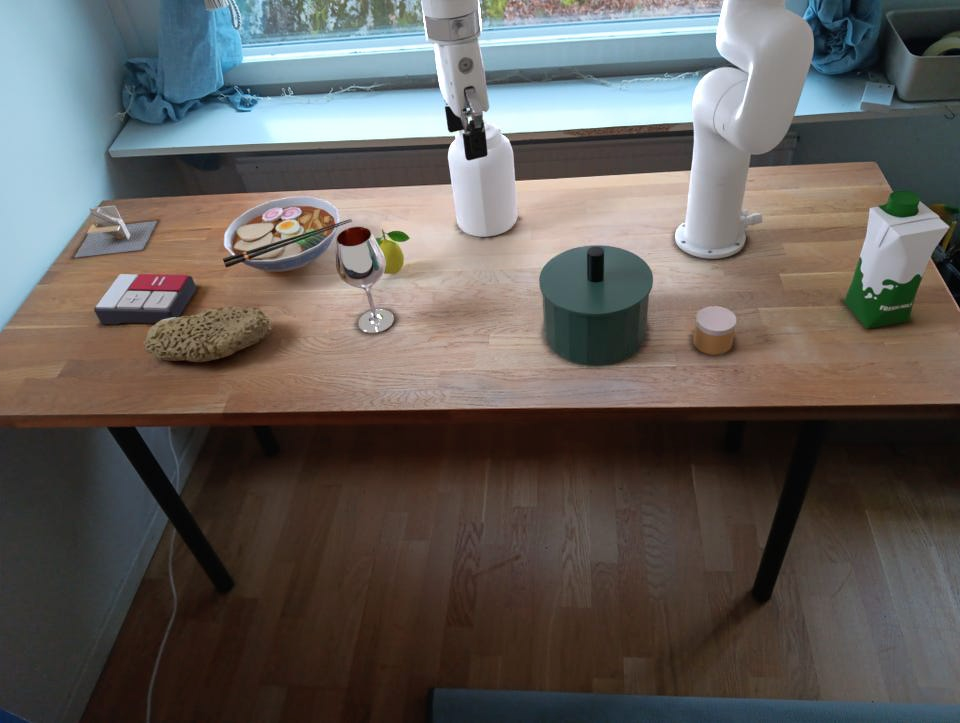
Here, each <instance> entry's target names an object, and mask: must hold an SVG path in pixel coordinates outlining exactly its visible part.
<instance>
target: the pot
mask: <svg viewBox="0 0 960 723" xmlns="http://www.w3.org/2000/svg"><path fill="white" fill-rule="evenodd" d="M541 297H542V314H543V329H544V330H543V331H544V337H545V341H546V343H547V344H548V346H549V347H550V349H551V350H552V351H553V352H554V353H555V354H557V355H558V356H559V357H561V358H562V359H564V360H567V361H569V362H572V363H574V364H577V365H583V366H596V367H597V366H598V367H599V366H607V365H608V366H609V365H612V364H616V363H620V362H623V361H625V360H627V359H628V358H630V357H631V356H633V355H634V354H636V353H637V352H638V351H639V350H640V349H641V347H642V346H643V344H644V342H645V340H646V335H647V327H648V326H647V325H648V313H649V299H650V294H649V295H648V296H647V297H646V299H645V300H644V301H643V302H641V303H640V304H639V305H637V306H636V307H634V308H632V309H630V310H628V311H625V312H622V313H619V314H615V315H609V316H600V317H589V316H581V315H575V314H572V313H568V312H565V311H563V310H561V309H559V308H557V307H555V306H554V305H552V304H551V303H550V302H549V301H548V300H546V298H545V297H544V296H543V294H542V293H541Z"/></svg>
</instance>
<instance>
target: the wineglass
mask: <svg viewBox="0 0 960 723" xmlns="http://www.w3.org/2000/svg"><path fill="white" fill-rule="evenodd" d="M375 238H376V237H375V235H374V234H373V233H372V231H371V229H369V228H368V227H366V226H361V225H360V226H352V227H351V226H350V227H348V228H344V229H343V230H342V231H340V232H339V233H338V234H337V236H336V238H335V268H336V273H337V275H338V276H339V278H340V279H341V280H342V281H343V282H344V283H346V284H347V285H349V286H351V287H354V288H358V289H362V290H364V291H365V294H366V298H367V301H368V304H369V308H370V310H368V311H367V312H365V313H364V314H362V315H361V316H360V317H359V320H358V327H359V329H360V330H361V331H363V333H367V334H379V333H383V332H385V331H386V330H388V329H389V328H390V327H391V326H393V324H394V322H395V317H394V315H393V313H392V312H391V311H390V310H387V309H384V308H377V309H376V306H375V303H374V300H373V294H372V291H371V289H372V287H373V286H374V285H376V284H377V283H378V282H379V281H380V280H381V279H382V277H383V276H384V274H385V273H384V271H385V268H386V260H385V256H384V254H383V252H382V250H381V248H380V246H379V244H378V243H377V241H376V239H375Z"/></svg>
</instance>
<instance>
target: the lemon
mask: <svg viewBox="0 0 960 723" xmlns="http://www.w3.org/2000/svg"><path fill="white" fill-rule="evenodd" d="M381 233H382V236H381V237H375V239H376V241H377V243H378V244H379V246H380V248H381V250H382V252H383V254H384V256H385V260H386V268H385V271H384V274H386V275H392V274H396V273H398V272H399V271H400V270H401V269H402V268H403V266H404V260H405V256H404V253H403V250H402V247H401V246H400V244H399V243H405V242H407V241H408V240H410V239H411V238H410V236H409V235H408V234H407V233H405V232H404V231H401V230H392V231H389V232H385V231H384V229H381ZM386 235H387V236H388V237H389V238H386Z"/></svg>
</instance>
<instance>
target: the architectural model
mask: <svg viewBox="0 0 960 723" xmlns="http://www.w3.org/2000/svg"><path fill="white" fill-rule="evenodd" d="M89 211H90V214H91V215H92V217H93V219H94V220H95V221H92V223H93V224H91V225H90V227H89V228H88V230H87V231H86V234H87V236H86V238H85V239H84V241H83V242H82V244H81V245H80V247H79V249H78V250H77V252H76V254H75V255H74V257H73V258H83V257H91V256H99V255H100V256H101V255H108V254H109V255H110V254H118V253H126V252H132V251H133V252H134V251H135V252H136V251H143V250H144V248H145V247H146V245H147V242H148V241H149V239H150V237H151V235H152V233H153V231H154V229H155V227H156V225H157V222H158V220H153V221H147V222H146V221H144V222H136V223H135V222H134V223H128V224H126V223H125V222H124V220H123V219H122V216H121V215H120V212H119V210H118V209H117V208H116V205H107V206H99V207H91V208H89Z"/></svg>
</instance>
